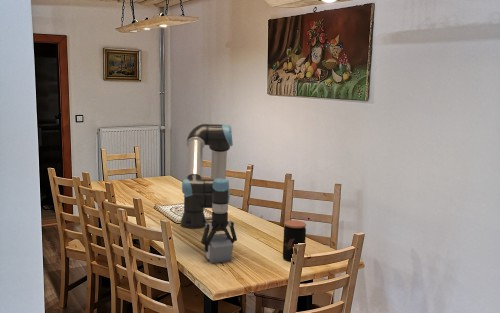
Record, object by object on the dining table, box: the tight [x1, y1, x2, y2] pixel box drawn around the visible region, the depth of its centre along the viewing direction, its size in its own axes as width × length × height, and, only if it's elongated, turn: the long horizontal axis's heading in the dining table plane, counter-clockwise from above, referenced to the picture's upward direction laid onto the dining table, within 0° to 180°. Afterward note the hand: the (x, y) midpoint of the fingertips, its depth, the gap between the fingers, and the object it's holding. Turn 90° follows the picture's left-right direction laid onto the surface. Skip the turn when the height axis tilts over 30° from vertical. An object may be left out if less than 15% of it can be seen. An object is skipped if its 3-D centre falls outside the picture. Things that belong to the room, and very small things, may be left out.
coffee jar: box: [282, 219, 307, 263], centre depth 232 cm, size 11×11×18 cm
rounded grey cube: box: [203, 232, 234, 264], centre depth 228 cm, size 10×10×9 cm
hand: (218, 256), depth 228 cm, fingers closed on rounded grey cube, 10 cm apart
